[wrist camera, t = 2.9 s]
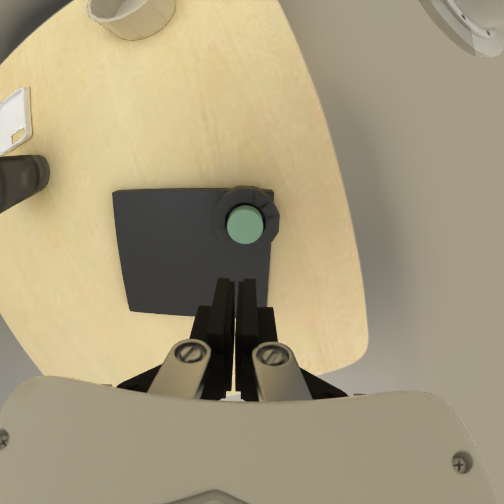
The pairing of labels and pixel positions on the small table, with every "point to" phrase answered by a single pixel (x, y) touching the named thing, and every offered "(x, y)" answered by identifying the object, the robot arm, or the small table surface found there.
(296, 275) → the small table surface
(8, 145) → the phone case
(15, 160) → the beverage cup
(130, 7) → the beige cup
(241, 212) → the button
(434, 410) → the robot arm
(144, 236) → the scale
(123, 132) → the small table surface
